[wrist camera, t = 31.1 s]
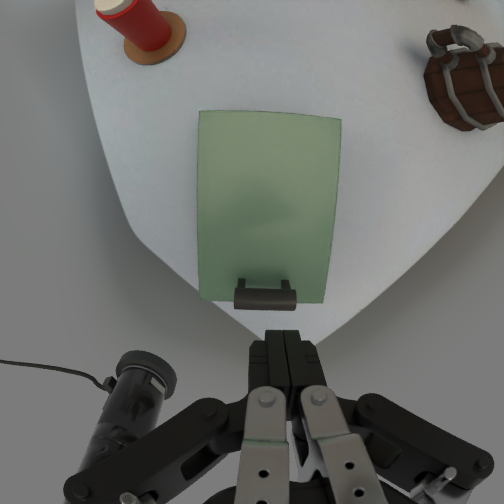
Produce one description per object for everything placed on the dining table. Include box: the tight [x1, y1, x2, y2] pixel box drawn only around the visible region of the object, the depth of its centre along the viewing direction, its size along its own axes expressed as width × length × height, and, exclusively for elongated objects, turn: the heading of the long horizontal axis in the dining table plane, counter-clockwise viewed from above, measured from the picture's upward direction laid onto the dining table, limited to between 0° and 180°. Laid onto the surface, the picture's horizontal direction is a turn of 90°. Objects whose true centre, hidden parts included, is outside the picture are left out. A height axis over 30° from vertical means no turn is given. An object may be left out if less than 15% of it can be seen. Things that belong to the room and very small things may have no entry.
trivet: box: [124, 11, 186, 65], centre depth 24 cm, size 8×8×1 cm
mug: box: [424, 25, 504, 131], centre depth 19 cm, size 16×12×15 cm
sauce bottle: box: [94, 0, 172, 51], centre depth 18 cm, size 5×5×12 cm
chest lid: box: [197, 111, 342, 311], centre depth 22 cm, size 17×12×5 cm
